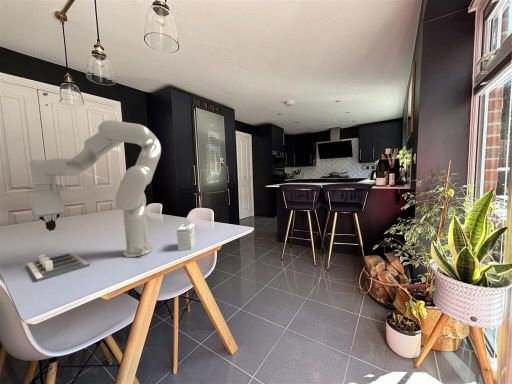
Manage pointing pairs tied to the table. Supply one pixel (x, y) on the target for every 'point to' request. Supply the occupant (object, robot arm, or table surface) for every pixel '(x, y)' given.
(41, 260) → the tab
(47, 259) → the tab
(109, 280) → the table surface
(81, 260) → the switch board
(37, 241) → the table surface
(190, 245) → the light bulb box
